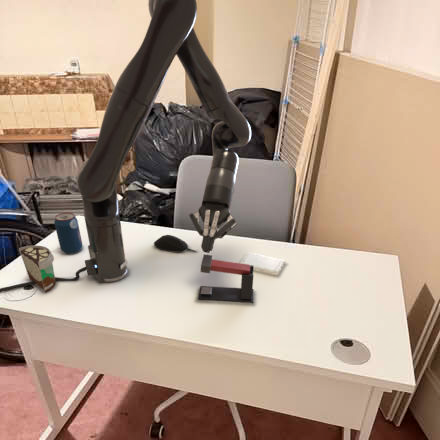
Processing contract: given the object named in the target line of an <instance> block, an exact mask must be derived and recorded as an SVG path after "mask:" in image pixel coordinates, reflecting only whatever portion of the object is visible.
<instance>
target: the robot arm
mask: <svg viewBox="0 0 440 440" xmlns="http://www.w3.org/2000/svg"><path fill="white" fill-rule="evenodd" d="M147 4H148V5H147V7H148V13H149V16H150V21H149V25H148V28H147V29H146V33H145V34H144V35H145V36H144V38H143V39H142V42H141V44H140V46H139V48H138V49H137V51H136V53H134V56H133V57H132V58H131V60H129V62H128V63H127V65H126V66H125V68H124V69H123V70H122V72H121V74H120V75H119V77H118V78H117V80H116V82H115V85H114V88H113V90H112V91H111V94H110V97H109V99H108V102H107V105H106V108H105V111H104V114H103V117H102V118H103V119H102V121H101V125H100V129H99V134H98V137H97V141H96V143H95V146H94V148H93V150H92V152H91V154H90V155H89V157H88V158H87V159H85V160H84V161H83V162H82V163H81V164H80V166H79V167H78V170H77V175H76V186H77V189H78V192H79V194H80V196H81V200H82V208H83V218H84V222H85V226H86V232H87V233H86V234H87V238H88V244H89V245H87V250H88V255H89V259H84V265H85V266H84V267H82V268H80V269H78V270H76V271H75V276H74V277H73V278H65V277H57V276H55V282H56V281H57V282H76V281H78V280H80V278H81V277H80V276H81V275H80V274H81V273H83V272H85V271H86V275H87V277H91V276H92V277H93V276H94V277H95V278H96V279H97V280H98V282H99V283H112V282H117V281H120V280H123V279H124V278H126V276H128V267H127V265H128V260H127V259H126V254H125V246H124V238H123V231H122V223H121V215H120V207H119V199H118V192H117V191H118V190H117V182H118V179H119V175H120V172H121V170H122V167H123V164H124V162H125V160H126V158H127V156H128V154H129V152H130V151H131V149H132V147H133V146H134V143H135V142H136V140H137V138H138V136H139V135H140V132H141V131H142V128H143V127H144V125H145V124H146V122H147V119H148V117H149V115H150V113H151V111H152V108H153V106H154V104H155V101H156V99H157V97H158V95H159V92H160V90H161V88H162V86H163V84H164V81H165V79H166V77H167V74H168V71H169V69H170V67H171V66H172V64H173V61H174V60H175V57H177V58H178V60H179V62H180V64H181V66H182V67H183V70H184V71H185V73H186V75H187V77H188V79H189V81H190V83H191V85H192V87H193V90H194V92H195V94H196V95H197V98H198V100H199V103H201V106H202V108H203V109H204V111H205V113H206V115H207V117H208V118H209V119H211V120H214V121H219V122H217V123H216V124H215V125H214V127H213V129H212V132H211V145H212V160H211V165H210V169H209V173H208V175H207V178H206V182H205V187H204V191H203V196H202V201H201V206H200V207H199V208H198V211H197V212H194V213H190V214H189V219H190V220H191V222H192V225H193V226H194V228H195V230H196V232H197V234H198V235H199V236H200V237H202V240H201V244H200V247H201V250H202V252H203V253H205V254H206V253H207V254H210V253H211V252H212V251H213V249H214V246H215V241H216V239H220V240H221V239H223V238H224V237H225V236H226V235H227V234H229V232H231V231H232V230H233V229H234V228H235V227H236V226H237V221H236V219H235V218H233V217H232V216H231V206H232V201H233V197H234V192H235V186H236V176H237V172H238V167H239V162H240V161H239V156H238V154H237V153H236V152H235V151H232V150H231V149H232V148H238V147H243V146H246V145H247V144H248V143H249V142H250V141H251V137H252V129H251V125H250V124H249V122H248V119H247V118H246V116H244V114H243V113H242V112H241V110H240V109H239V108H238V107H237V105H236V104H234V102H233V101H232V99H231V97H230V95H229V93H228V90H227V89H226V86H225V84H224V81H223V80H222V78H221V76H220V74H219V72H218V71H217V69H216V67H215V66H214V64H213V63H212V60H211V59H210V57H209V56H208V55H207V53H206V51H205V50H204V48H203V46H202V44H201V42H200V40H199V37H198V36H197V33H196V30H195V28H194V25H195V23H196V21H197V15H198V4H197V0H148V2H147ZM229 149H230V150H229ZM200 218H201V219H200ZM200 220H202V222H203V229H202V227H201V225H200V223H199V221H200ZM224 224H225V225H224ZM220 227H221V228H220ZM35 284H36V282H35V281H26V282H22V283H18V284H12V285H9V286H5V287H1V288H0V293H1V292H7V291H10V290H11V291H12V290H16V289H19V288H20V289H21V288H25V287H28V286H32V285H33V286H34V285H35Z"/></svg>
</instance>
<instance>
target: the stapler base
mask: <svg viewBox="0 0 440 440" xmlns="http://www.w3.org/2000/svg"><path fill="white" fill-rule="evenodd" d="M253 267H254V266H253V265H250V274H242V275H241V282H240V287H228V286H227V287H226V286H210V285H209V286H208V285H207V286H206V285H200V286H199V290H198V296H197V301H209V302H223V303H225V302H226V303H227V302H229V303H243V304H244V303H246V304H254V287H253V286H254V269H253Z"/></svg>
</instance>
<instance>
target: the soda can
mask: <svg viewBox="0 0 440 440" xmlns="http://www.w3.org/2000/svg"><path fill="white" fill-rule="evenodd" d="M54 219H55V220H54V223H53V224H54V228H55V232H56V235H57V241H58V244H59V249H60V250H61V252H62V253H64V254H67V255H75V254H78V253H80V252H81V251H82V248H83V245H84V244H83V239H82V235H81V231H80V226H79V221H78V218H77V217H76V216H75V214H74V213H72V212H61V213H58V214H56V215H55V216H54Z"/></svg>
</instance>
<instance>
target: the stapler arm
mask: <svg viewBox="0 0 440 440" xmlns="http://www.w3.org/2000/svg"><path fill="white" fill-rule="evenodd" d="M211 272H218V273H223V274H224V273H225V274H231V275H238V276H239V275H240V276H242V274H250V265H248V264H241V263H240V262H233V261H225V260H219V259H213V255H211V254H206V253H204V254H203V256H202V260H201V264H200V273H203V274H210V273H211Z"/></svg>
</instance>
